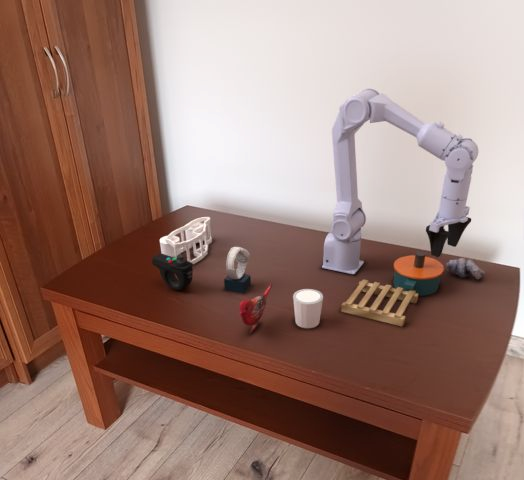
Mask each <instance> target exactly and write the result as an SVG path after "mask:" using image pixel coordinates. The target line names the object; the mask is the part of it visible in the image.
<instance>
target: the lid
mask: <svg viewBox="0 0 524 480" xmlns="http://www.w3.org/2000/svg"><path fill="white" fill-rule="evenodd" d="M444 267H445V266H444V265H443V264H442V262H440V261H438V260H437V259H435V258H432V257H429V256H426V253H425V252H423V251H417V252H415V254H414V255H413V254H412V255H405V256H401V257H399V258H397V259H396V260H395V261H394V262H393V268H394V271H395V270H396V271H397V272H398V273H399V274H401V275H403V276H405V277H409V278H413V279H432V278H436V277H438V276H440V275H441V276H442V275H443V273H444V270H445V268H444Z"/></svg>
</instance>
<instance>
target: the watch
mask: <svg viewBox="0 0 524 480" xmlns="http://www.w3.org/2000/svg"><path fill="white" fill-rule="evenodd" d="M250 256H251V254H250V252H249V251H248V250H247V249H246V248H244V247H241V246H233V247H231V248H230V249H229V251H228V253H227V257H226V264H225V265H226V268H225V269H226V271H225V272H226V274H227V275H226V276H225V277H224V279H223V283H224V290H225V291H230V292H234V293H240V294H246V292H247V291H248V290H249V289H250V287H251V286H252V277H251V274H249V273H245V272H246V269H247V264H248V263H249V259H250ZM235 262H236V263H237V267H236V269H235Z"/></svg>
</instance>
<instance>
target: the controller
mask: <svg viewBox="0 0 524 480" xmlns="http://www.w3.org/2000/svg"><path fill="white" fill-rule="evenodd" d="M185 257H186V256H185V254H182V253H181V254H179V255H177V256H176V258H175V257H171V256H168V255H165V254H162V253H158V254H156V255H154V256H152V259H151V264H152V265H153V266H154V267H156V268H157V269H158V270H159V273H160V276H161V278H162V280H163V282H164V283H165V284H166V285H167V286H168V287H169V288H171V289H172V290H174V291H182V290H185V289H186V288H188V287H189V286H190V285H191V283H192V280H193V277H194V276H193V273H194V269H193V265H194V264H193V263H191V262H189V261H188V260H187V259H185Z"/></svg>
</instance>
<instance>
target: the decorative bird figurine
mask: <svg viewBox="0 0 524 480" xmlns="http://www.w3.org/2000/svg"><path fill="white" fill-rule="evenodd" d="M272 287H273V283H271V284H270V285H268V288H267V289H266V290H265V291H264V293H263V294H262V295H258V296H256V297H253V298H252V299H249V298H244V299H243V300H242V301H241V302H240V303H239V307H238V309H239V311H238V312H239V316H240V317H241V320H242V323H243V324H245V326H252V327H251V329H250V331H249V332H248V333H249V334H251V333H252V332H253V331H254V330H255V329H256V327H257V326H258V323H259V321H260V319H261V318H262V316H263V313H264V311H265V308H266V305H267V298H268V296H269V293H270V291H271V289H272Z"/></svg>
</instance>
